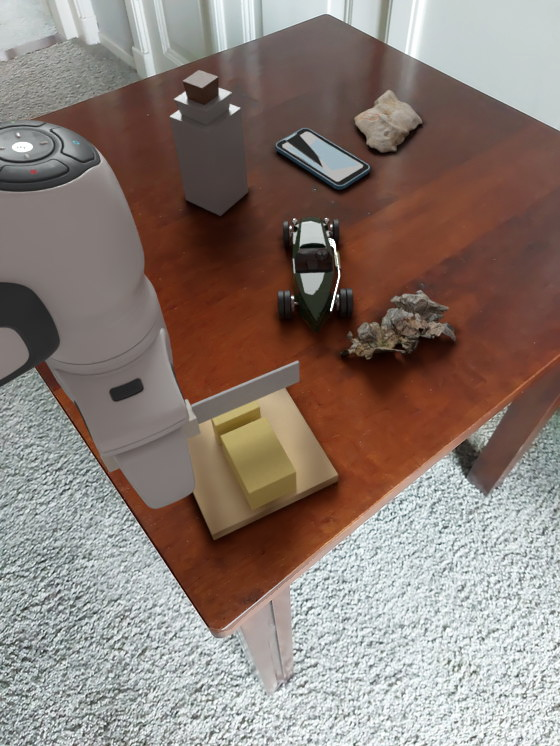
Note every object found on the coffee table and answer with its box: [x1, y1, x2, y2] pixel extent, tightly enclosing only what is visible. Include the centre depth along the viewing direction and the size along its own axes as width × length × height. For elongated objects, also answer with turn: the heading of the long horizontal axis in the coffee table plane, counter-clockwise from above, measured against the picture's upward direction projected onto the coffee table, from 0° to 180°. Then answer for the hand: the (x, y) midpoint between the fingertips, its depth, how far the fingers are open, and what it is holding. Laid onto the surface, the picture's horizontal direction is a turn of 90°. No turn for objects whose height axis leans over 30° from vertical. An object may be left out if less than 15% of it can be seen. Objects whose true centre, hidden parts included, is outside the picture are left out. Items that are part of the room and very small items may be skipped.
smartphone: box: [275, 127, 371, 191], centre depth 94 cm, size 7×1×15 cm
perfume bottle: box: [169, 69, 249, 217], centre depth 83 cm, size 7×7×18 cm
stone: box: [353, 89, 423, 153], centre depth 98 cm, size 13×11×3 cm
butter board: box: [187, 387, 339, 541], centre depth 63 cm, size 14×13×2 cm
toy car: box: [277, 216, 354, 334], centre depth 77 cm, size 9×20×5 cm, turn 0°
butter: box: [220, 417, 297, 510], centre depth 60 cm, size 5×7×4 cm
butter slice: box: [211, 400, 261, 445], centre depth 62 cm, size 5×2×4 cm, turn 116°
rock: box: [339, 289, 456, 360], centre depth 72 cm, size 8×15×4 cm, turn 115°
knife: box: [98, 360, 301, 473], centre depth 56 cm, size 20×2×3 cm, turn 116°
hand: (147, 434), depth 55 cm, fingers closed on knife, 2 cm apart
